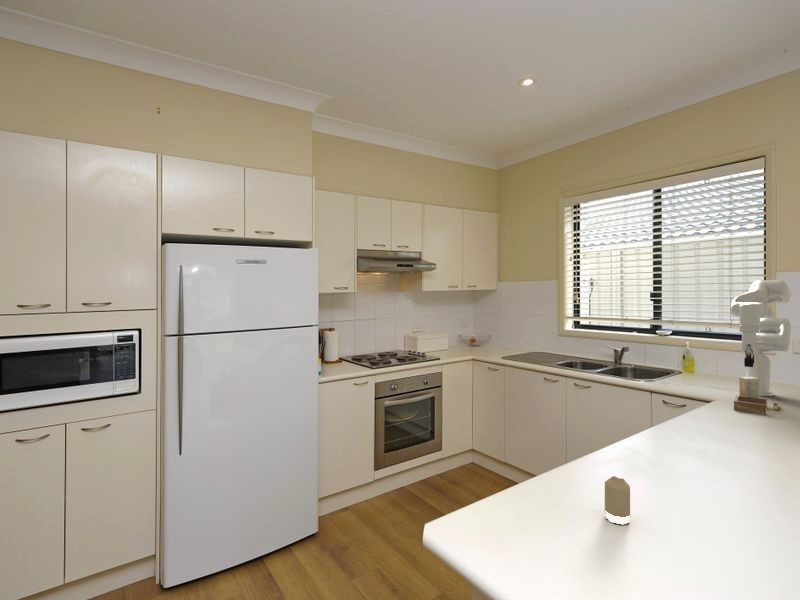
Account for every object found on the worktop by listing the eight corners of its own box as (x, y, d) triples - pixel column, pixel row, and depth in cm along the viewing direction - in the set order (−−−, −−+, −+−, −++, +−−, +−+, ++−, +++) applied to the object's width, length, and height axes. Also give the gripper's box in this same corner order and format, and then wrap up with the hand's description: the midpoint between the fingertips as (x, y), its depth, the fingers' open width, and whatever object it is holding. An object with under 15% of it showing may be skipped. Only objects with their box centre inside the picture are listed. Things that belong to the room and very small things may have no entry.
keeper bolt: (773, 404, 197) (773, 399, 197) (777, 405, 196) (777, 399, 196) (773, 409, 190) (773, 403, 190) (777, 409, 189) (777, 404, 189)
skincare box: (752, 401, 204) (753, 376, 204) (759, 404, 200) (759, 378, 199) (738, 401, 205) (738, 376, 204) (744, 404, 200) (745, 378, 200)
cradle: (736, 403, 201) (736, 395, 201) (766, 407, 194) (766, 399, 194) (733, 409, 191) (733, 400, 191) (766, 414, 184) (766, 405, 184)
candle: (600, 514, 105) (600, 474, 105) (621, 512, 106) (621, 473, 106) (613, 526, 100) (613, 484, 100) (635, 525, 100) (635, 483, 100)
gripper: (740, 327, 210) (740, 361, 210) (738, 330, 197) (738, 367, 198) (760, 328, 205) (760, 363, 205) (759, 331, 192) (759, 368, 193)
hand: (749, 365), depth 202 cm, fingers open, 9 cm apart
